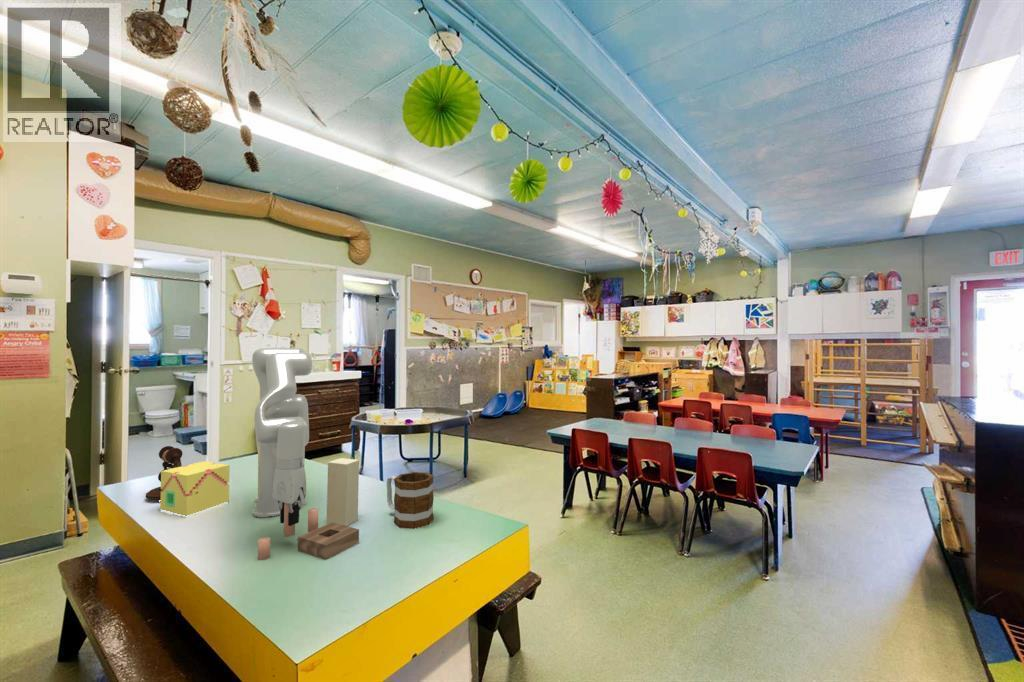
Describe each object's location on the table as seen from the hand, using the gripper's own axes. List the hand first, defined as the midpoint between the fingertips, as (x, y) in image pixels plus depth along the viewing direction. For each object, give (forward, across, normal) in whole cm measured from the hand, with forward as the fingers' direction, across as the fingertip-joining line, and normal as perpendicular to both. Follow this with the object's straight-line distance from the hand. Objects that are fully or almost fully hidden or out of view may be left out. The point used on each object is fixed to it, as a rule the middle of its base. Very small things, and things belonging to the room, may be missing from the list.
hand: (289, 522), depth 128 cm
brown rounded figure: (+10, -82, +5) cm, 83 cm away
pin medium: (+7, +1, +7) cm, 10 cm away
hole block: (+6, +12, +4) cm, 14 cm away
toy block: (+9, -59, +3) cm, 60 cm away
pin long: (+4, 0, 0) cm, 4 cm away
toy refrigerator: (+7, +1, +19) cm, 21 cm away
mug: (+7, +19, +31) cm, 37 cm away
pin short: (+7, +1, -9) cm, 11 cm away
